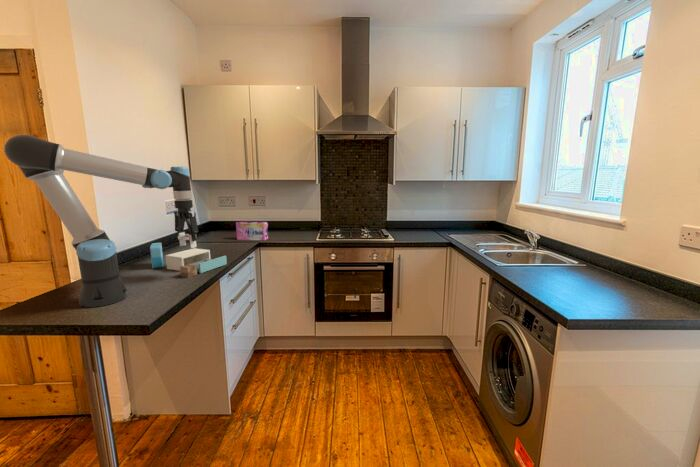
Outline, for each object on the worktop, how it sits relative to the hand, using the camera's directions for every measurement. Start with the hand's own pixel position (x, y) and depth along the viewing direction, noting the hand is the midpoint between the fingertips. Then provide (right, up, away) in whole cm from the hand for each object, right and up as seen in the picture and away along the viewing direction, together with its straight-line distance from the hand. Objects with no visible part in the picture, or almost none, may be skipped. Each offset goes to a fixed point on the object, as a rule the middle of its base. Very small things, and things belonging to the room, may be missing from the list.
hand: (188, 246), depth 151 cm
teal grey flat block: (+2, -12, +14) cm, 19 cm away
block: (0, -14, +2) cm, 14 cm away
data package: (-23, -6, +12) cm, 27 cm away
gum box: (+3, +2, +91) cm, 91 cm away
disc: (0, +4, -1) cm, 4 cm away
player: (-9, -11, +19) cm, 24 cm away
